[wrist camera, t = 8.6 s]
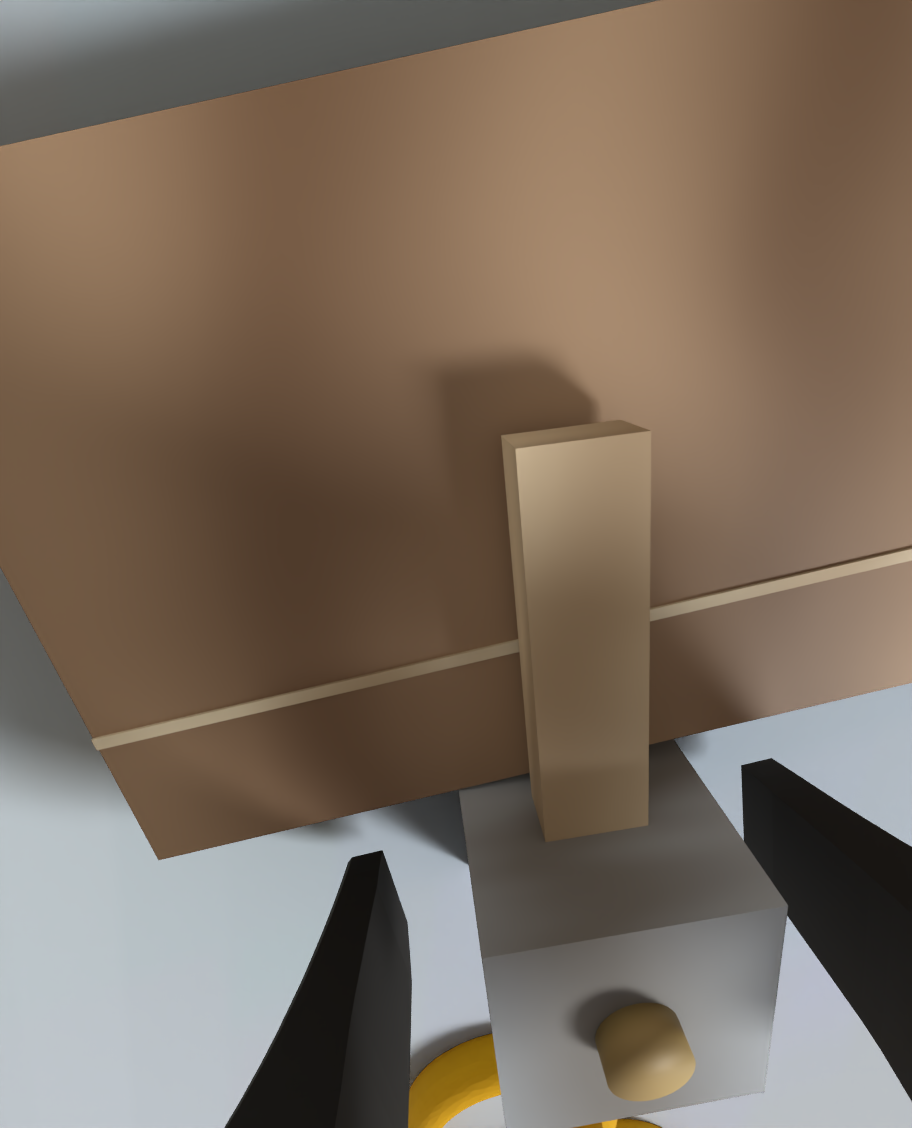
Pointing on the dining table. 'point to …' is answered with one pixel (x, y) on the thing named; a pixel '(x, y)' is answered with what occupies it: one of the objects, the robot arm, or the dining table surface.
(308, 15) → the dining table surface
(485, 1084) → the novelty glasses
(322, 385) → the board
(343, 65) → the dining table surface
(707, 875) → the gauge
